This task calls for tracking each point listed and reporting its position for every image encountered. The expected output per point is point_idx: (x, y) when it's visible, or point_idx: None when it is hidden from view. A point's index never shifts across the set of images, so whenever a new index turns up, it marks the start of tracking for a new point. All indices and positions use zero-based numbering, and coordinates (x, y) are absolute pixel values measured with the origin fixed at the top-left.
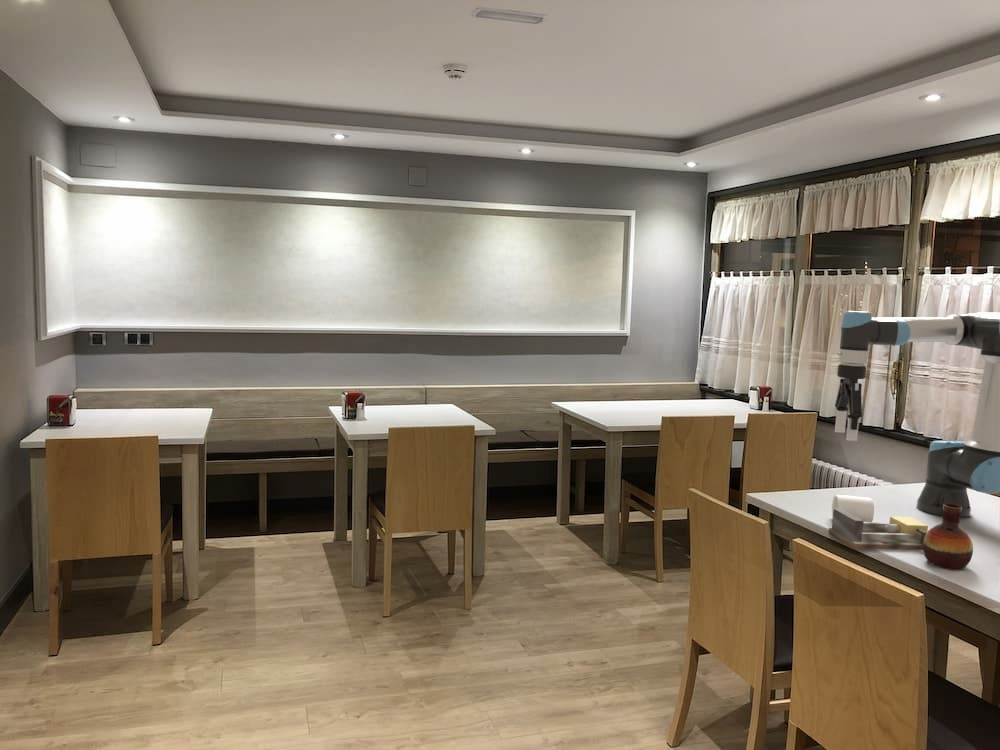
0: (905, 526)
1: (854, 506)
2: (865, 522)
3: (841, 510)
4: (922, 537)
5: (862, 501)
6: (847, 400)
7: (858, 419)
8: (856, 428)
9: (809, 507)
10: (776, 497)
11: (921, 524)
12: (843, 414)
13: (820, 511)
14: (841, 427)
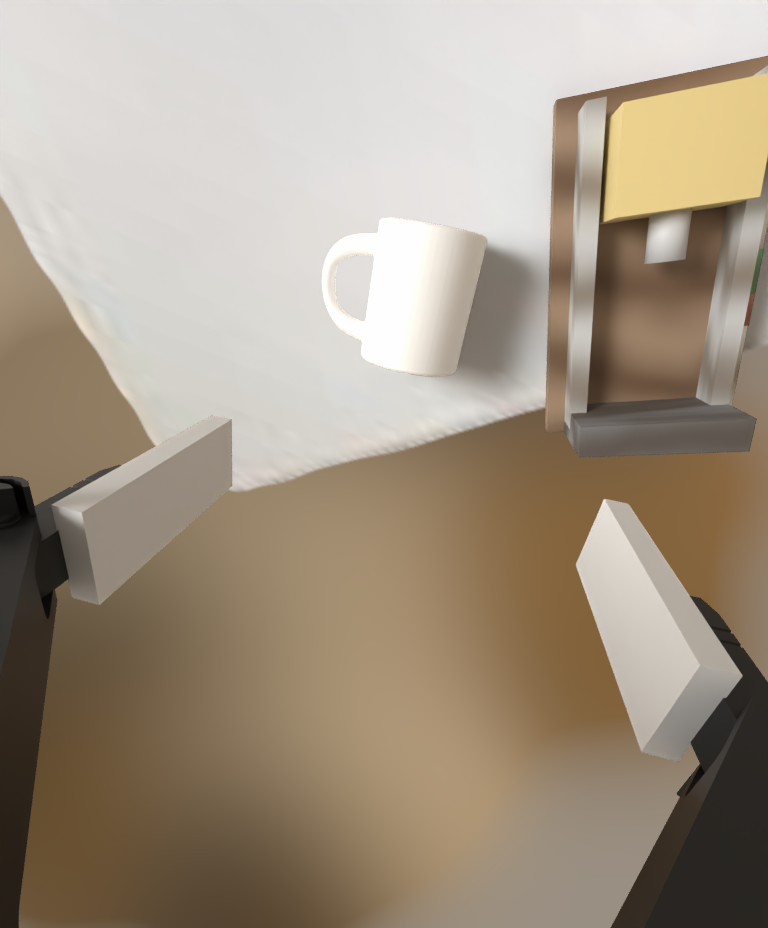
0: (741, 200)
1: (463, 316)
2: (583, 322)
3: (603, 439)
4: None
5: (453, 279)
6: (9, 703)
7: (729, 669)
8: (711, 614)
9: (276, 373)
10: None
11: (757, 102)
12: (118, 522)
13: (314, 355)
14: (207, 464)
